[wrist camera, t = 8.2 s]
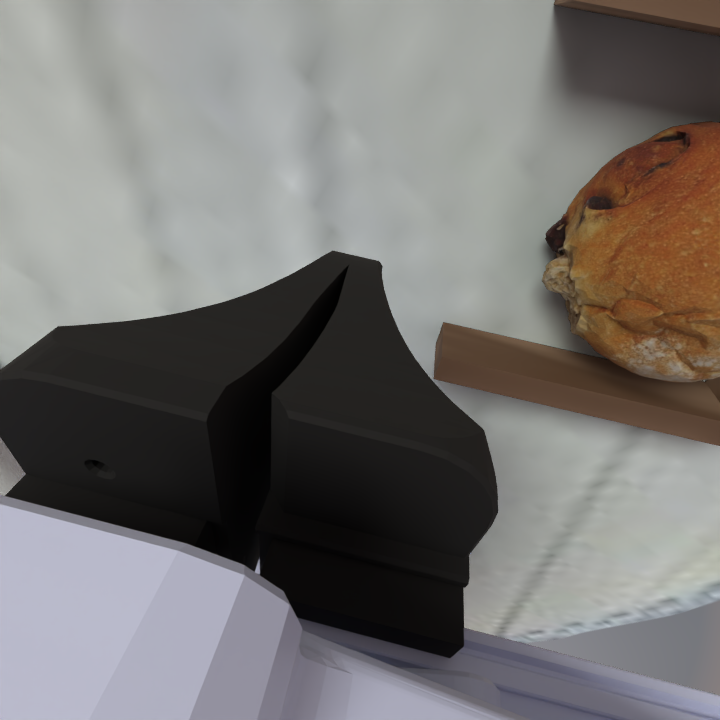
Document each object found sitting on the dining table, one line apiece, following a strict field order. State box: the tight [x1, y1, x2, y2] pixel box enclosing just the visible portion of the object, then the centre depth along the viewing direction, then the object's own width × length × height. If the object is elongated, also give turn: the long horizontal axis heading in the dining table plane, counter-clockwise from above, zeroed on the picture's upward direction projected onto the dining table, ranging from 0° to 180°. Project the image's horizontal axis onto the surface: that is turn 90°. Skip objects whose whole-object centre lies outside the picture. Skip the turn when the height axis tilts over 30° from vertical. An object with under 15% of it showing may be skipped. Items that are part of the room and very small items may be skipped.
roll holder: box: [434, 0, 720, 446], centre depth 16 cm, size 16×16×3 cm
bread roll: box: [542, 121, 720, 382], centre depth 16 cm, size 10×10×8 cm
